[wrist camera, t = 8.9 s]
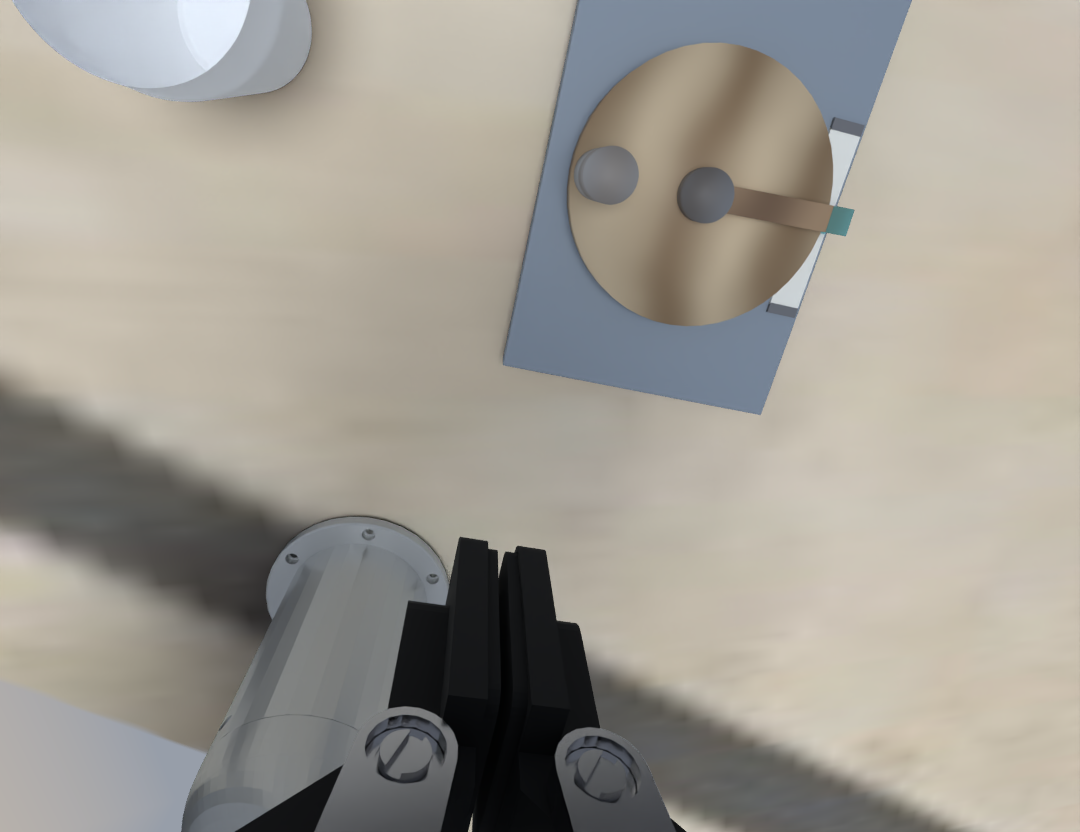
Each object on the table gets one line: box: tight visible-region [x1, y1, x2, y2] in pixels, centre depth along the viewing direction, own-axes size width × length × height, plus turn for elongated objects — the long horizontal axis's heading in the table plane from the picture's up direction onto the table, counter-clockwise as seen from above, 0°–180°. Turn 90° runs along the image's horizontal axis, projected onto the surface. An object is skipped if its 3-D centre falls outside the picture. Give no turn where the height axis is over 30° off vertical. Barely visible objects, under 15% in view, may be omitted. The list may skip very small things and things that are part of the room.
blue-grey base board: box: [503, 0, 912, 415], centre depth 37 cm, size 24×17×2 cm
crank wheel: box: [567, 43, 854, 326], centre depth 33 cm, size 15×14×6 cm
